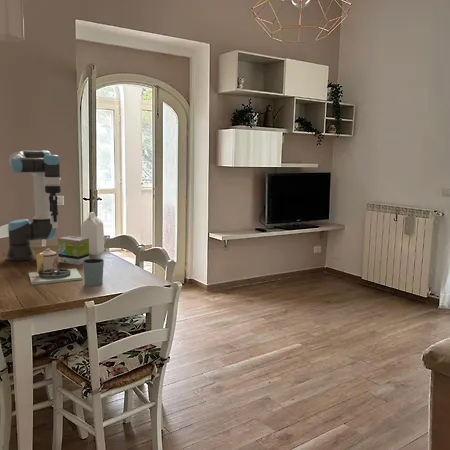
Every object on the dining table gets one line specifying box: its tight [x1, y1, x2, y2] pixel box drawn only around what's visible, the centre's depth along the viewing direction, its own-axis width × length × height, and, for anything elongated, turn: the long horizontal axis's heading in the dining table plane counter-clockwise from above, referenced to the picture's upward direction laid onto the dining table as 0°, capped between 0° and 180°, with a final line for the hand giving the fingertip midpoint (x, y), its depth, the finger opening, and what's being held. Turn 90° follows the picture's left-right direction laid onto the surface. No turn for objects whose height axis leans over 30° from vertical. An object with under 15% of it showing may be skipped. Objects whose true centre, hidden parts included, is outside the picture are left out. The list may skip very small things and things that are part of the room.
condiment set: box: [40, 248, 58, 270], centre depth 260 cm, size 12×9×12 cm
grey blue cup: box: [82, 257, 105, 287], centre depth 232 cm, size 10×10×12 cm
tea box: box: [57, 235, 90, 266], centre depth 275 cm, size 15×10×15 cm, turn 68°
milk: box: [80, 211, 106, 256], centre depth 301 cm, size 12×12×26 cm
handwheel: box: [35, 252, 71, 278], centre depth 243 cm, size 16×15×11 cm
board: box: [28, 268, 83, 285], centre depth 244 cm, size 20×24×1 cm
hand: (54, 225), depth 245 cm, fingers open, 13 cm apart
